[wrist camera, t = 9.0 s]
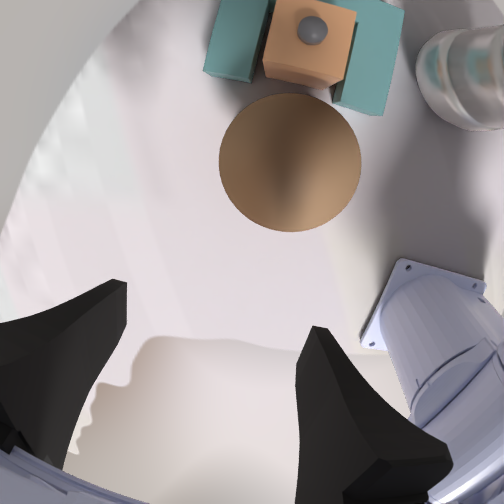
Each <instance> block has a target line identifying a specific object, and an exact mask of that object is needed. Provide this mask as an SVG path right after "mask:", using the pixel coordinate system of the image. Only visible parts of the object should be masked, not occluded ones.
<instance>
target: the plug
mask: <svg viewBox="0 0 504 504" xmlns="http://www.w3.org/2000/svg"><path fill="white" fill-rule="evenodd" d="M356 14H357V12H355V11H352V10H349V9H346V8H342V7H339V6H335V5H332V4H328V3H324V2H321V1H317V0H277V1H276V5H275V9H274V13H273V17H272V21H271V26H270V30H269V34H268V38H267V43H266V47H265V51H264V56H263V65H264V70H265V75H266V77H268V78H273V79H278V80H282V81H287V82H291V83H296V84H300V85H304V86H308V87H312V88H316V89H320V90H324V89H326V88H328V87H329V86H331V85H333V84H335V83H337V82H339V81H341V80H343V77H344V73H345V68H346V63H347V59H348V54H349V49H350V44H351V39H352V34H353V29H354V24H355V19H356Z"/></svg>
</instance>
